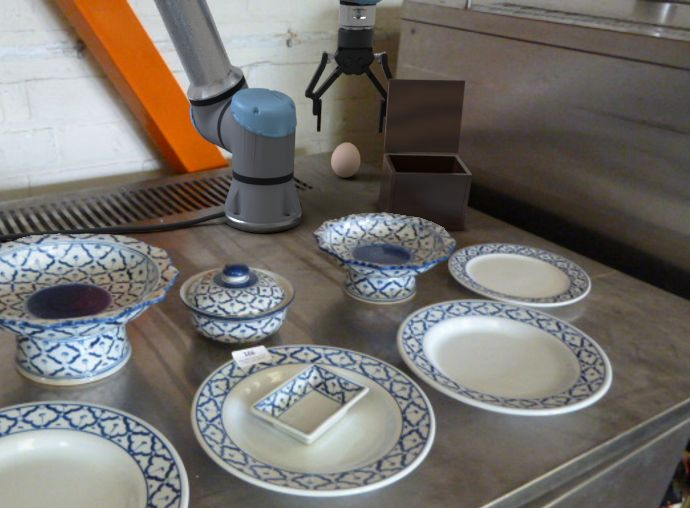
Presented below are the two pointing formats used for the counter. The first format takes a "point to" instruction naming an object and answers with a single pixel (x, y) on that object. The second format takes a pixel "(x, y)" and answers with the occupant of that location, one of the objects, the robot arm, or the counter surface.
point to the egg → (345, 160)
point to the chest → (426, 188)
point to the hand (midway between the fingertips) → (349, 130)
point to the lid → (424, 115)
